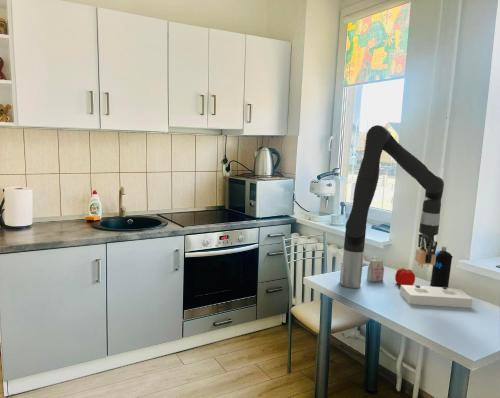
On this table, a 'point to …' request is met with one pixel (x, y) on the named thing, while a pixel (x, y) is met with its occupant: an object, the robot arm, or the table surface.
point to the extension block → (435, 296)
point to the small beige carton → (375, 271)
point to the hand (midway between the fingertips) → (425, 260)
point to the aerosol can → (441, 269)
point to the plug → (423, 257)
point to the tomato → (405, 277)
